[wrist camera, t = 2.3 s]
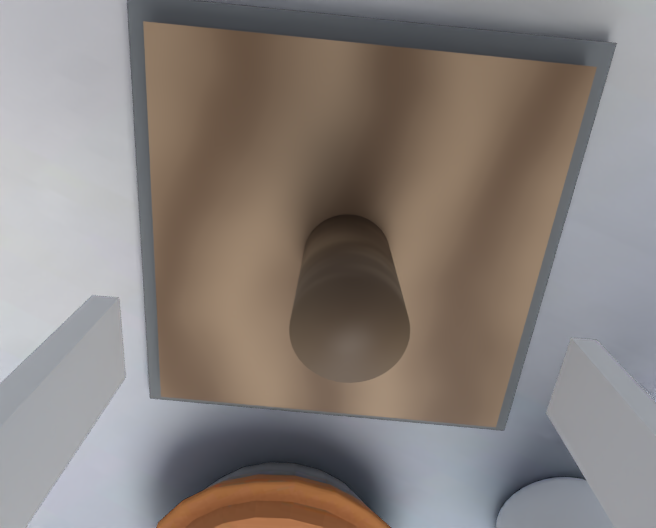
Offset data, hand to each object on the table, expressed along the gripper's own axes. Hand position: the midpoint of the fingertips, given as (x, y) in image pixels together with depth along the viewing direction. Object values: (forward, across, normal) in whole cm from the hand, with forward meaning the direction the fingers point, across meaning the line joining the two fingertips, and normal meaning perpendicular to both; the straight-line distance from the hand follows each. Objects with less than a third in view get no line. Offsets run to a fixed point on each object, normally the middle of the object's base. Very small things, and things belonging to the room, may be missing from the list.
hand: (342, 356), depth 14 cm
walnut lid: (+10, 0, 0) cm, 10 cm away
